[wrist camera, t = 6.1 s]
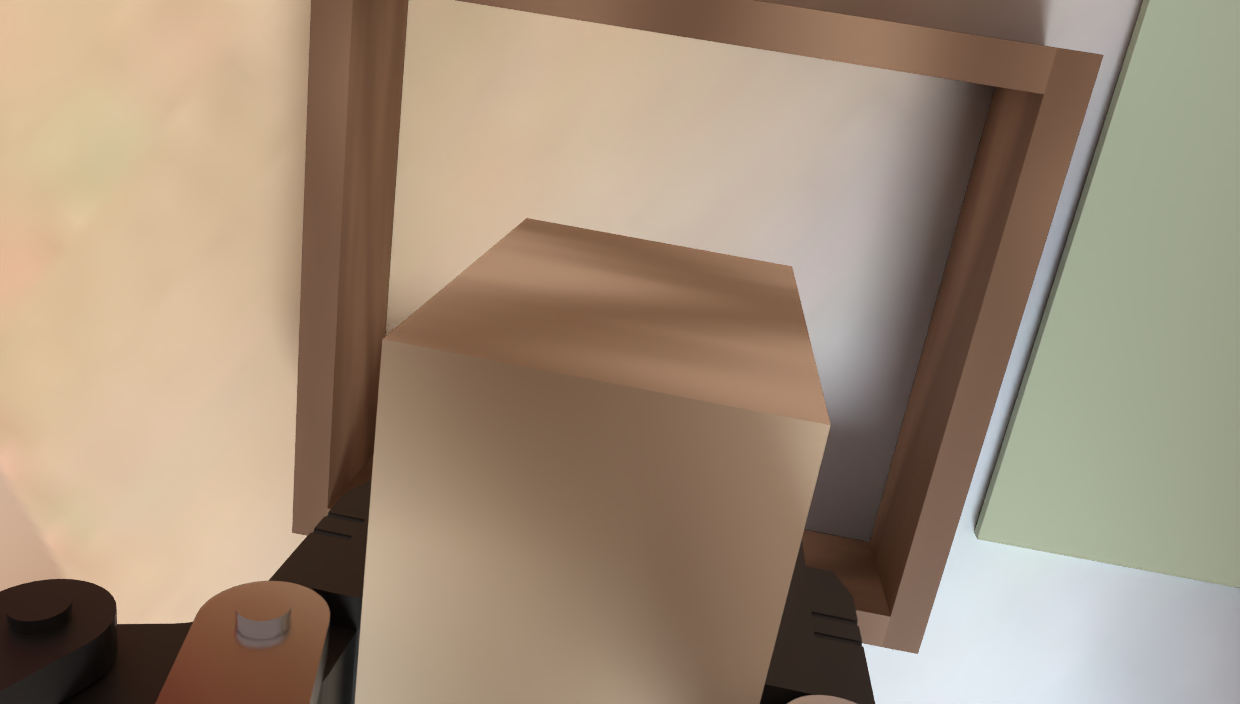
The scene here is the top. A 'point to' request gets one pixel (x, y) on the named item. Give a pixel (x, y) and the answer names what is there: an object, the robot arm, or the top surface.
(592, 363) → the maple block
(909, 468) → the slot box
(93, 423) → the top surface
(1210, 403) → the mat
